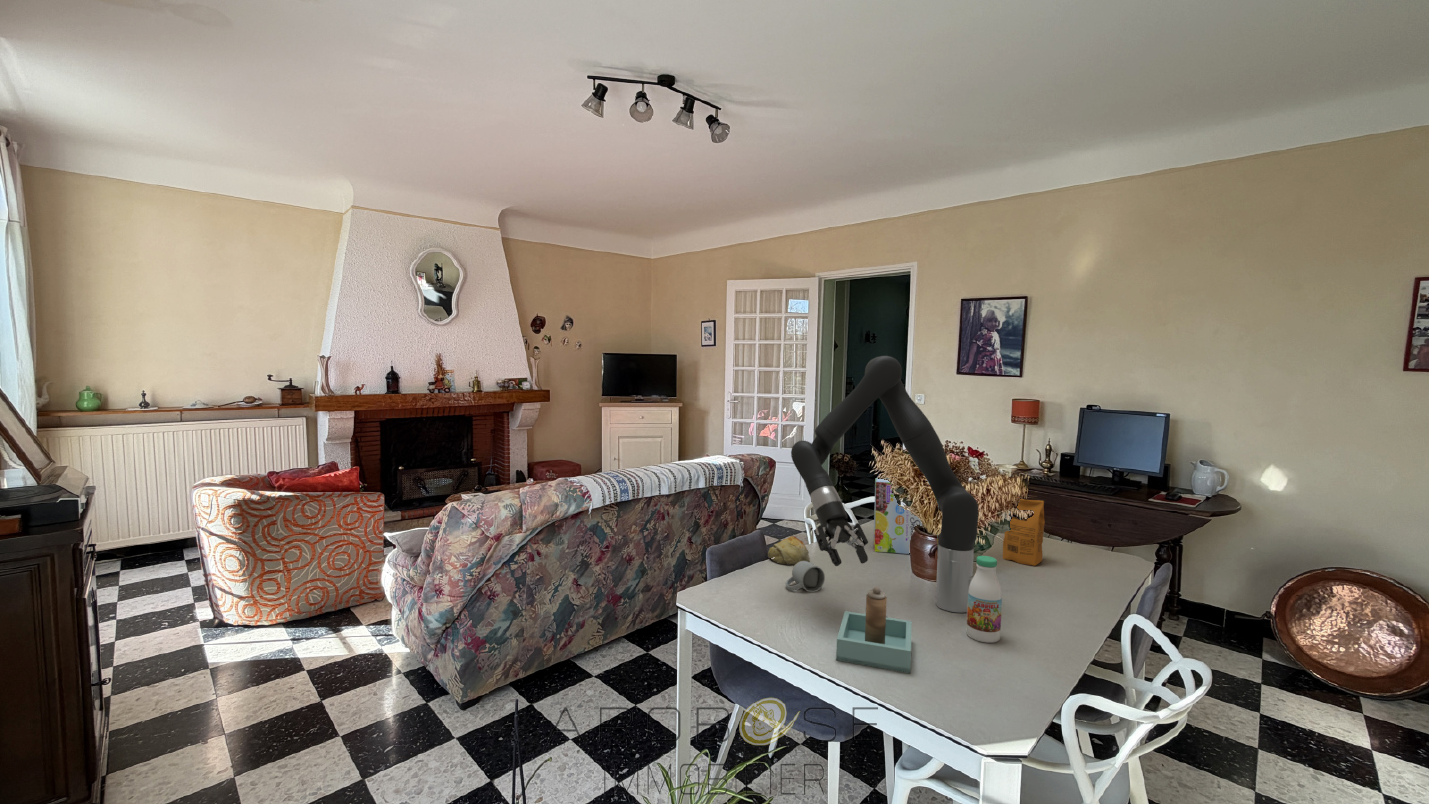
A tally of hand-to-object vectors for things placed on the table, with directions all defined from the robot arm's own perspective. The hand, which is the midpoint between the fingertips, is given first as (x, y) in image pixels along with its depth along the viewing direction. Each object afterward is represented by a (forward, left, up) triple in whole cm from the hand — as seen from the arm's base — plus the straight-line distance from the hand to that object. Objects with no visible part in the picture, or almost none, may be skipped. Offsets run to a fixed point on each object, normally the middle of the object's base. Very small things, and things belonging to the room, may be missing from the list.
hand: (851, 563), depth 149 cm
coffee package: (-51, -76, -17) cm, 93 cm away
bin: (-7, +9, -17) cm, 21 cm away
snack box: (-12, -71, -17) cm, 74 cm away
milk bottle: (-32, -8, -17) cm, 37 cm away
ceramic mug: (+16, -23, -17) cm, 33 cm away
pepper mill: (-7, +9, -16) cm, 20 cm away
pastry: (+25, -46, -17) cm, 55 cm away
